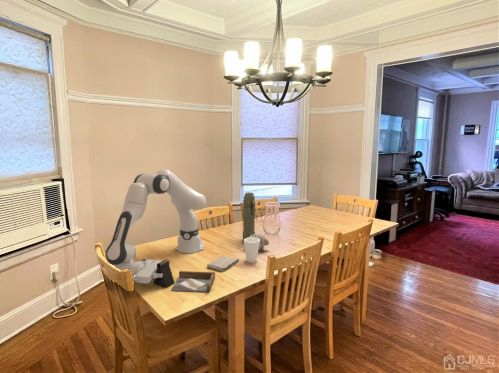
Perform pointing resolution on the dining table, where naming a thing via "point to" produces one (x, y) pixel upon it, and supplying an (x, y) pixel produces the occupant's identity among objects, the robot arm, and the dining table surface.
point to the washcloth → (222, 263)
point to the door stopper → (164, 275)
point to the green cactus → (248, 215)
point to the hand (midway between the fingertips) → (165, 271)
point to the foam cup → (251, 248)
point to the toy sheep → (261, 241)
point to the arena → (194, 281)
